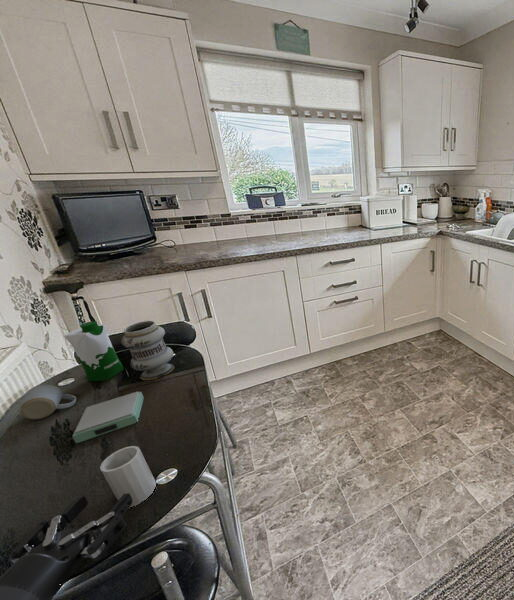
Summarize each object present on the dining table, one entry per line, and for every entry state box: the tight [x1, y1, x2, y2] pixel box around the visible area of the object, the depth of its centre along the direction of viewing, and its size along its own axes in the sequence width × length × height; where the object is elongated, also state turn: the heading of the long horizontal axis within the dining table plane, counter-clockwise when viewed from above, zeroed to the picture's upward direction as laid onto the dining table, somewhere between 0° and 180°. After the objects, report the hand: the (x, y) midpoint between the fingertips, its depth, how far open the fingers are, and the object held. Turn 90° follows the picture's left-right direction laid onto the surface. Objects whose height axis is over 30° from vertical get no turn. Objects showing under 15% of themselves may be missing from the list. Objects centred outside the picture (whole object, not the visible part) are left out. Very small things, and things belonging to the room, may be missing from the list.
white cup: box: [99, 445, 157, 509], centre depth 66 cm, size 6×6×10 cm
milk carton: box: [63, 320, 125, 382], centre depth 111 cm, size 9×9×20 cm
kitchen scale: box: [71, 391, 145, 444], centre depth 91 cm, size 13×14×3 cm
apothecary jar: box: [120, 320, 175, 381], centre depth 111 cm, size 12×12×18 cm
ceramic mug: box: [19, 383, 77, 420], centre depth 97 cm, size 11×8×8 cm
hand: (106, 497), depth 61 cm, fingers open, 8 cm apart
